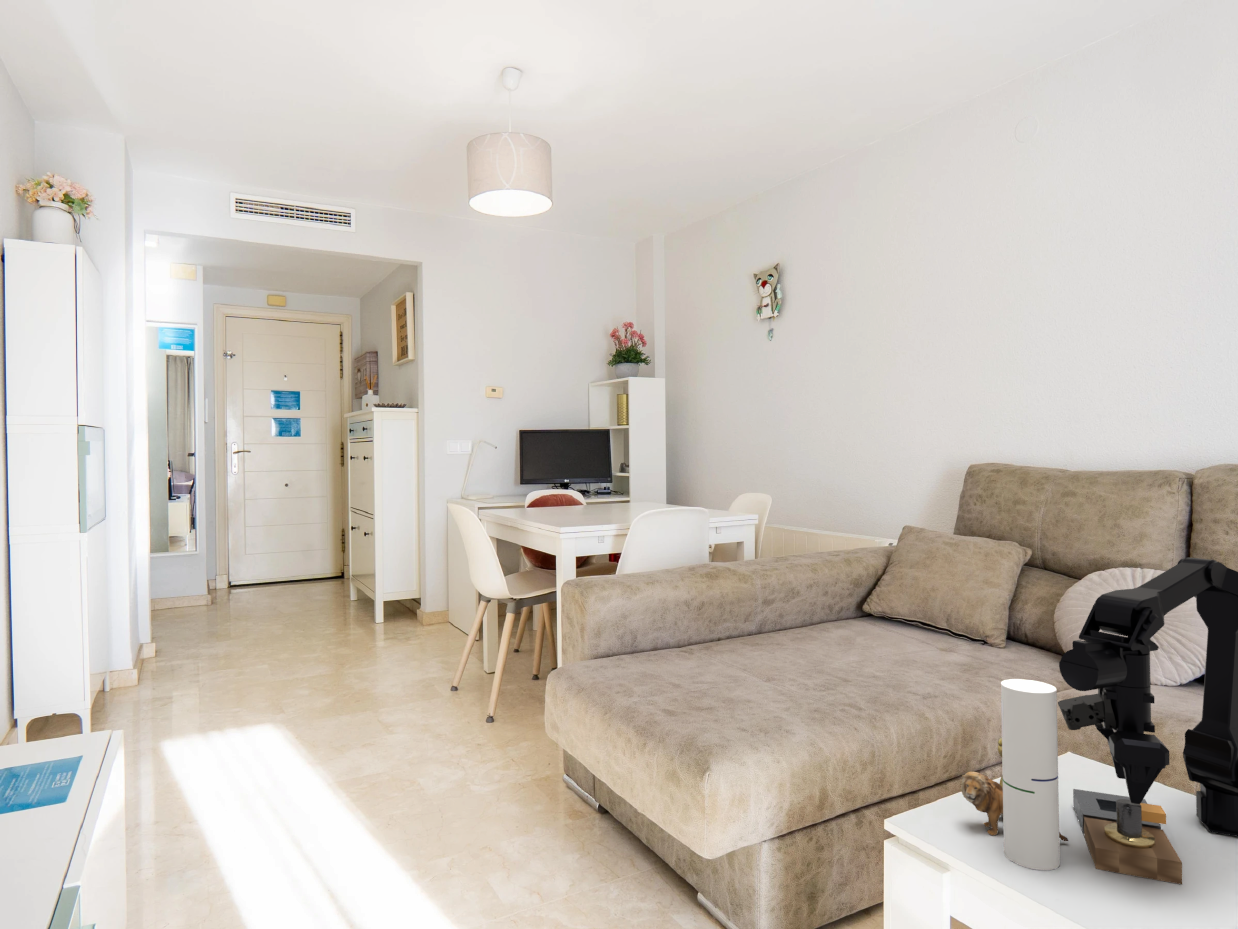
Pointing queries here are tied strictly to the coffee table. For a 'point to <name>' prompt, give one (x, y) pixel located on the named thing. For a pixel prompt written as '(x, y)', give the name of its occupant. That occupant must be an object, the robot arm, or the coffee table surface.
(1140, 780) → the robot arm
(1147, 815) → the cardboard box
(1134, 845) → the dark flanged cylinder
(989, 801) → the lion figurine
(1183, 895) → the coffee table surface
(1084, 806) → the socket block
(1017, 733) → the cylindrical container
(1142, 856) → the rack block
